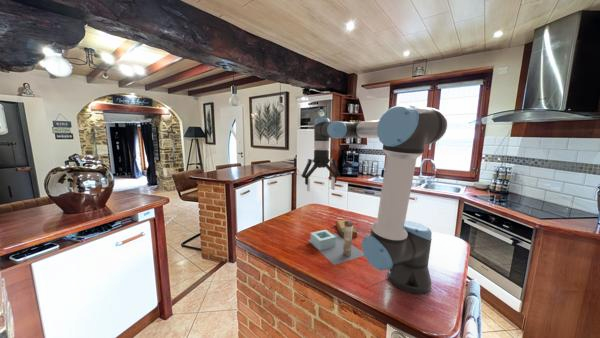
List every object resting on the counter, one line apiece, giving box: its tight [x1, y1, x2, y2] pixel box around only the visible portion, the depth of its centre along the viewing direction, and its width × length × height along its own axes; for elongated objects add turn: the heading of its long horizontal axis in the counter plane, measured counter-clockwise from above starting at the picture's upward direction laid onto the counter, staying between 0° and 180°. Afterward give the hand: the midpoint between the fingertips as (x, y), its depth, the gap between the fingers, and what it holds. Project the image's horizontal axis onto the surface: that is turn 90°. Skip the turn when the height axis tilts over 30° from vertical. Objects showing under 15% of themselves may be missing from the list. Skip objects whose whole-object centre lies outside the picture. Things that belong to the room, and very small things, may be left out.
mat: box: [307, 232, 365, 266], centre depth 109 cm, size 24×18×1 cm
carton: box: [335, 219, 358, 239], centre depth 126 cm, size 8×16×4 cm, turn 3°
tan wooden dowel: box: [343, 219, 354, 257], centre depth 101 cm, size 4×4×16 cm
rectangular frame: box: [310, 229, 336, 251], centre depth 111 cm, size 9×9×5 cm
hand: (320, 190), depth 115 cm, fingers open, 13 cm apart
